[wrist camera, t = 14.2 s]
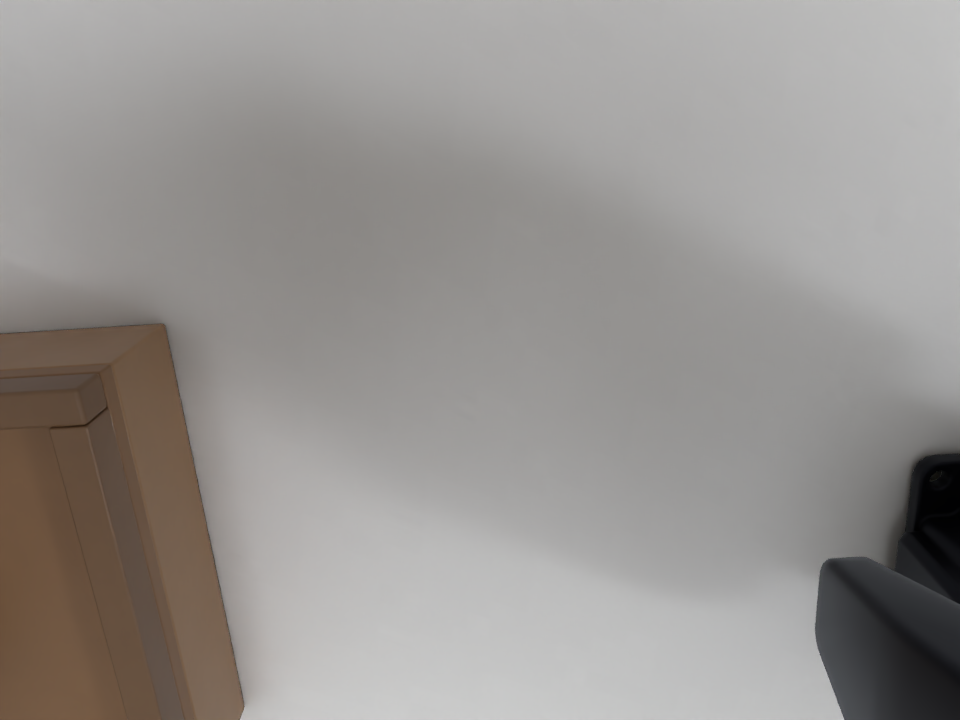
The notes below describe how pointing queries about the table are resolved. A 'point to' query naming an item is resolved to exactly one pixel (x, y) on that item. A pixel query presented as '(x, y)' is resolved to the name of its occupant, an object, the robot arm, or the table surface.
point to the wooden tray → (104, 537)
